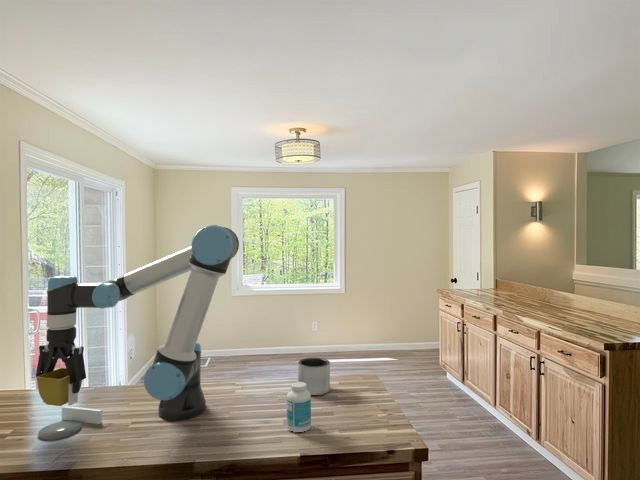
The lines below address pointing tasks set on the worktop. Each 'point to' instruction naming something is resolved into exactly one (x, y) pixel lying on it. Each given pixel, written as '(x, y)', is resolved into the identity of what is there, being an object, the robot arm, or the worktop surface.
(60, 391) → the flower pot
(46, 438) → the coaster
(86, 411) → the wall
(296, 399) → the pill bottle
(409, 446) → the worktop surface
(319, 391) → the planter
